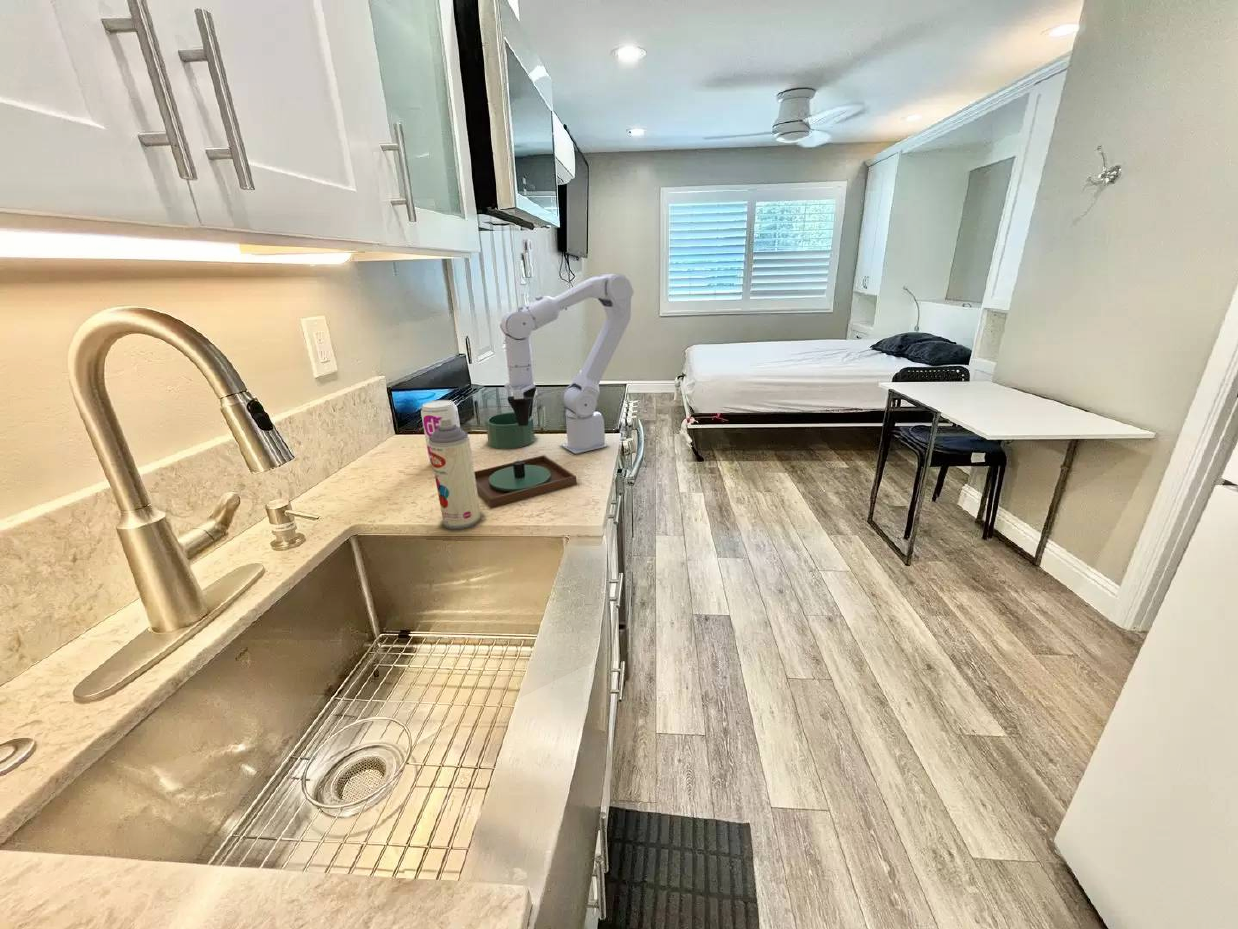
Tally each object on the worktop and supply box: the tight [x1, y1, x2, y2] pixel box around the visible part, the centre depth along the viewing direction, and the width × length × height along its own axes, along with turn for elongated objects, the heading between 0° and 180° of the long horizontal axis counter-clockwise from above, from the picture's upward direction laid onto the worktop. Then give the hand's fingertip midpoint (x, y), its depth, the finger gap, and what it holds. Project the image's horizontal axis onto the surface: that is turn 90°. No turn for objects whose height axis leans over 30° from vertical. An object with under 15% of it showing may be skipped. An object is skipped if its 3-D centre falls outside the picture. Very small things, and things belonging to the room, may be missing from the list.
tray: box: [474, 454, 578, 508], centre depth 108 cm, size 19×16×2 cm
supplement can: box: [420, 399, 461, 466], centre depth 118 cm, size 8×8×15 cm
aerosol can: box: [429, 417, 482, 530], centre depth 89 cm, size 7×7×20 cm
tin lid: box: [489, 460, 551, 491], centre depth 107 cm, size 13×13×4 cm
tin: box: [485, 411, 536, 450], centre depth 134 cm, size 12×12×6 cm
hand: (525, 420), depth 120 cm, fingers open, 7 cm apart
